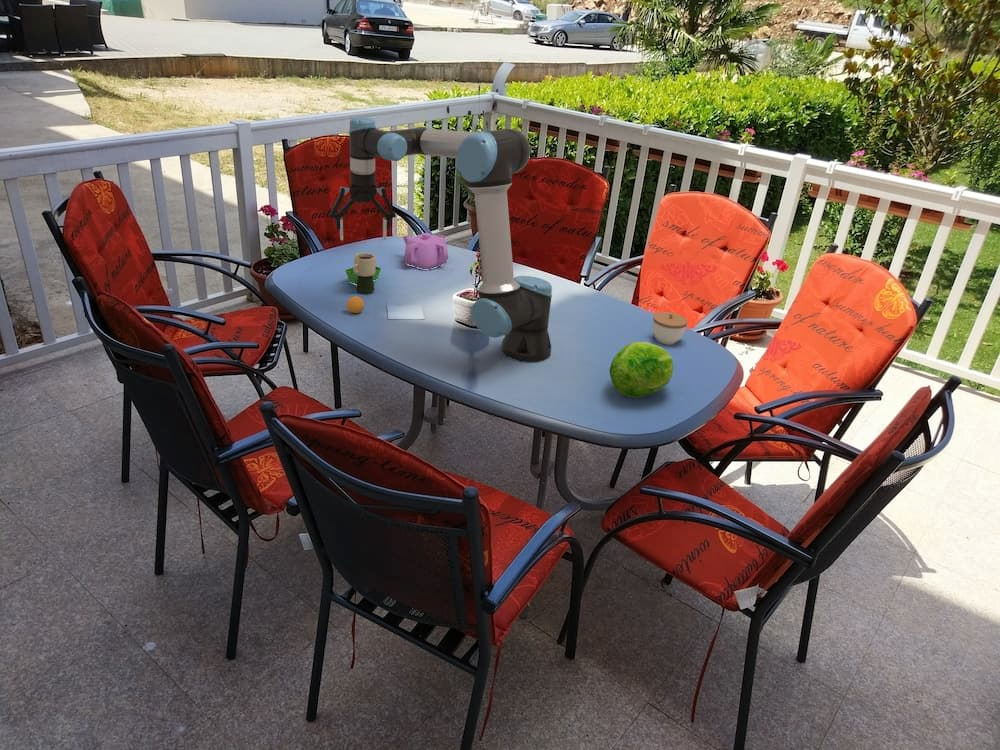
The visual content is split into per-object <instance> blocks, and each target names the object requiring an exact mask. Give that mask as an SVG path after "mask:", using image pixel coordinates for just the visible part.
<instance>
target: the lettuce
mask: <svg viewBox="0 0 1000 750" xmlns="http://www.w3.org/2000/svg"><path fill="white" fill-rule="evenodd" d="M673 372H674V364H673V357H672V355H671V354H670V353H669V352H668V351H666V350H665V349H664V348H663V347H661V346H659V345H656V344H653V343H651V342H648V341H633V342H630V343H628V344H627V345H625V346H623V347H622V348H621V349H620V350H619V351H618V353H616V354H615V356H613V359H612V360H611V364H610V367H609V376H610V380H611V383H612V385H613V387H614V389H615V390H616V391H617V392H618V393H619V394H620V395H622V396H626V397H630V398H634V399H639V398H642V397H645V396H649V395H652V394H655V393H657V392H658V391H660V390H662V389H663V388H664V387H666V386H667V385H668V384H669V383H670V380H671V379H672V378H673Z"/></svg>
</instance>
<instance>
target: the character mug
mask: <svg viewBox="0 0 1000 750" xmlns="http://www.w3.org/2000/svg"><path fill="white" fill-rule="evenodd" d="M353 260H354V261H353V265H352V268H353V271H354V274H357V275H359V276H358V278H357V286H356V288H355V290H356V291H357V292H358V293H362V292H363V294H365V293H366V294H370V293H373V291H374V292H375V284H374V283H375V282H374V281H373V277H372V276H373V275H374V274H375V271H376V270H375V266H376V267H377V258H376V255H374V254H373V253H369V252H359V253H356V254H355V255H354V259H353Z"/></svg>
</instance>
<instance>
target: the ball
mask: <svg viewBox="0 0 1000 750" xmlns="http://www.w3.org/2000/svg"><path fill="white" fill-rule="evenodd" d="M346 307H347V310H349V312H350V313H353V314H359V313H361V312H362V311H363V310H364V308H365V301H364V300H363V299H362V298H361V297H360V296H357V295H355V296H351V297H350V298H348V300H347V301H346Z"/></svg>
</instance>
